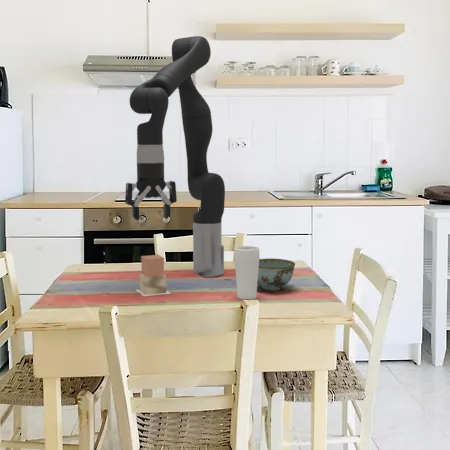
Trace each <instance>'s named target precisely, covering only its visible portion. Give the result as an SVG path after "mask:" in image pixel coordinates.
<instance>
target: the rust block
mask: <svg viewBox="0 0 450 450" xmlns="http://www.w3.org/2000/svg"><path fill="white" fill-rule="evenodd" d="M140 258H141V273H142V274H143V275H145V276H146V277H152V276H163V275H165V266H164V265H165V262H164V261H165V257H163V256H161V255H159V254H155V255H154V254H152V255H141V257H140Z"/></svg>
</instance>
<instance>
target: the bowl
mask: <svg viewBox="0 0 450 450" xmlns="http://www.w3.org/2000/svg"><path fill="white" fill-rule="evenodd" d="M295 266H296V262H294V261H292V260H290V259H289V260H288V259H283V258H259V272H258V283H257V286H258V285H259V286H260V287H261V290H263V291H266V292H278V291H281V290H282V289H283V287H284V286H285V285H287V284H288V283H289V282H290V281H291V279H292V277H293V275H294V269H295Z"/></svg>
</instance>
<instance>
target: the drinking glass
mask: <svg viewBox="0 0 450 450" xmlns="http://www.w3.org/2000/svg"><path fill="white" fill-rule="evenodd" d="M259 259H260V248H259V247H258V246H254V245H240V246H236V247H235V248H234V269H235V271H234V272H235V279H236V280H235V282H236V297H237V298H238V299H240V300H245V299H250V300H255V299H257V297H258V295H257V293H258V284H257V283H258V272H259Z"/></svg>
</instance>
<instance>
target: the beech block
mask: <svg viewBox="0 0 450 450" xmlns="http://www.w3.org/2000/svg"><path fill="white" fill-rule="evenodd" d="M139 289H140V291H141V292H143V293H144V294H145V295H151V294H160V293H166V290H167V275H166V274H164V275H163V276H152V277H146V276H145V275H143V274H142V272H141V273H140V272H139Z"/></svg>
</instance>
